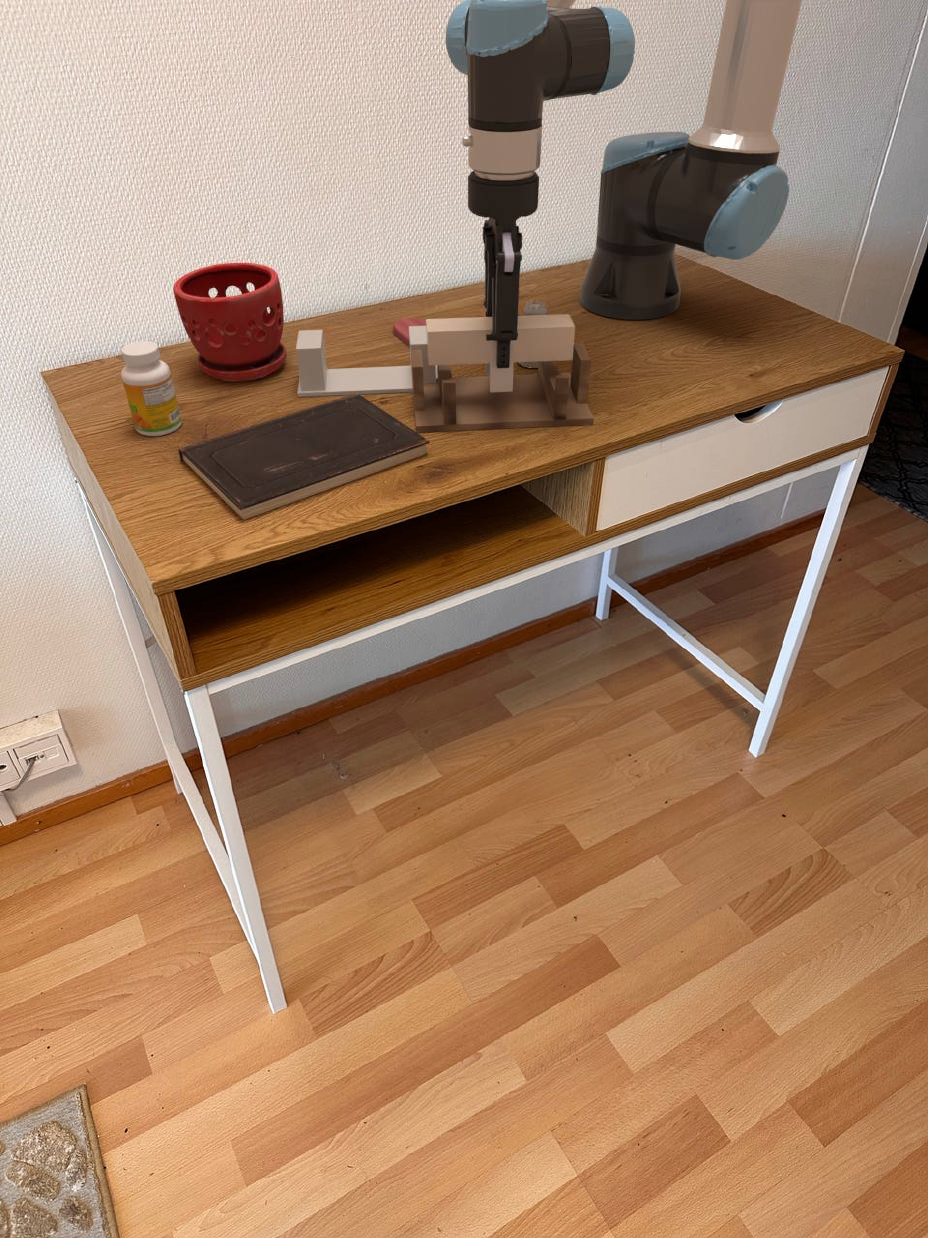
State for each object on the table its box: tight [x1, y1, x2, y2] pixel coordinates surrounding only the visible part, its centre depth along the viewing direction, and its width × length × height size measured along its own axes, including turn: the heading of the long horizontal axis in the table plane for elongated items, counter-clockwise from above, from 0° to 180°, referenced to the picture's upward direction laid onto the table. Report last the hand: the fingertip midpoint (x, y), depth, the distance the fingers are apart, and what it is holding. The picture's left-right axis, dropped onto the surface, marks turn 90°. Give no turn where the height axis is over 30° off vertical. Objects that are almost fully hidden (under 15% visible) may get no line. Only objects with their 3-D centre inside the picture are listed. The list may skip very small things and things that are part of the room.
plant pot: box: [172, 262, 287, 382], centre depth 114 cm, size 13×13×12 cm
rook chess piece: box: [517, 299, 549, 368], centre depth 116 cm, size 4×4×8 cm
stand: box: [295, 326, 438, 398], centre depth 112 cm, size 18×7×6 cm, turn 95°
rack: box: [411, 343, 595, 433], centre depth 107 cm, size 21×13×6 cm, turn 95°
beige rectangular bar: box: [425, 313, 576, 366], centre depth 103 cm, size 17×4×4 cm, turn 95°
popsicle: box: [392, 317, 426, 349], centre depth 123 cm, size 5×2×15 cm
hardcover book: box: [178, 393, 430, 521], centre depth 98 cm, size 16×23×2 cm
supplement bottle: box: [120, 340, 182, 437], centre depth 101 cm, size 5×5×10 cm
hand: (498, 381), depth 107 cm, fingers closed on beige rectangular bar, 4 cm apart
